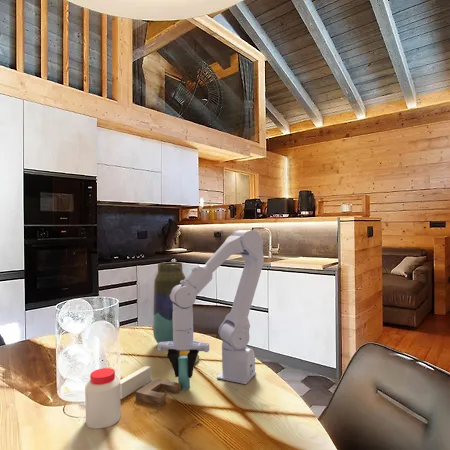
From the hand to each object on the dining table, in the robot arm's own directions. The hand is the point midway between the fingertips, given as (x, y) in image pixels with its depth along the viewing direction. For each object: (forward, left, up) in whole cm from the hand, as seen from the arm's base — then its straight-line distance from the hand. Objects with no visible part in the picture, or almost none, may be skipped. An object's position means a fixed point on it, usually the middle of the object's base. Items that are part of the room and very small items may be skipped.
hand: (184, 376), depth 97 cm
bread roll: (+10, -16, -3) cm, 19 cm away
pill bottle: (+8, +22, -3) cm, 24 cm away
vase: (+24, -27, -3) cm, 36 cm away
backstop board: (+12, +7, -3) cm, 14 cm away
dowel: (0, 0, -3) cm, 3 cm away
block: (+4, +7, -3) cm, 8 cm away
